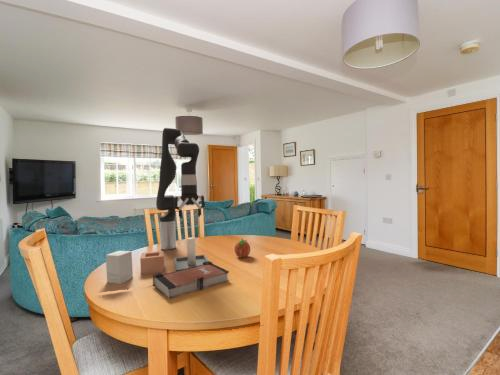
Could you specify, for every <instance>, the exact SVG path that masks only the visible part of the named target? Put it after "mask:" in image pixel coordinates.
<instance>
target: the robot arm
mask: <svg viewBox="0 0 500 375" xmlns="http://www.w3.org/2000/svg"><path fill="white" fill-rule="evenodd" d="M161 138H162V139H161V157H160V158H161V160H160V165H159V166H160V168H159V179H158V180H159V182H158V189H157V195H156V204H155V205H156V209H157V210H158V211H161V212H162V211H167V212H165V214H163V215H161V216H160V217H159V233H160V236H159V237H160V249H161V250H163V251H164V250H166V251H167V250H172V249H175V248H177V240H176V210H178V217H179V218H180V219H182V218H183V208H184V207H185V205H186V206H189V205H191V206H193V205H195V206H196V207H197V217H201V216H202V209H203V208H205V207H206V205H205V196H204V195H198V179H197V162H198V158H199V157H198V156H199V154H200V147H199V145H198V144H197V143H196V142H190V141H189V140H188V139H187V138H186V137H185V135H184V132H183V131H182V129H179V128H173V127H164V128H163V129H162V137H161ZM169 145H174V147H175V149H176V154H177V156H179V157H180V158H190V160H189V161H186V162H182V163H181V165H180V167H181V168H180V169H181V170H180V173H181V178H180V185H181V187H180V191H181V192H180V193H181V196H174V195H171V194H167V195H166V192H167V190H168V188H169V187H170V186H171V184H172V183H173V182H174V180H175V179H176V174H177V165H176V162H175V160H174V158H173V157H172V155H171V153H170V149H169ZM180 200H181V201H182V202H181V204H180V205H179V206H178V202H179V201H180ZM198 200H199V201H200V203H201V204H199V203H198V202H197V201H198Z"/></svg>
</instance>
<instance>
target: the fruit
mask: <svg viewBox="0 0 500 375" xmlns="http://www.w3.org/2000/svg"><path fill="white" fill-rule="evenodd" d="M250 253H251V245H250V243H248V241H247V240H243V238H241V240H240V241H238V242H236V244H235V246H234V254H235V255H236V256H237V257H238V258H240V259H241V258H247V257H248V256H249V255H250Z"/></svg>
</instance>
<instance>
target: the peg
mask: <svg viewBox="0 0 500 375" xmlns="http://www.w3.org/2000/svg"><path fill="white" fill-rule="evenodd" d="M186 249H187V250H186V257H187V263H188V266H194V265H196V254H197V252H196V237H187V238H186Z"/></svg>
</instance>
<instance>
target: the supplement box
mask: <svg viewBox="0 0 500 375" xmlns="http://www.w3.org/2000/svg"><path fill="white" fill-rule="evenodd" d="M132 253H133V252H132V251H130V250H129V251H128V250H116V251H114V252H111V253H107V254H106V255H105V264H106V265H105V266H106V267H105V268H106V269H105V270H106V282H107V283H110V284H115V285H116V284H117V285H118V284H119V285H121V284H123V283H125V282H127V281H130V280H131V279H133V278H134V277H133V276H134V275H133V273H134V272H133V258H132V257H133V256H132Z"/></svg>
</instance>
